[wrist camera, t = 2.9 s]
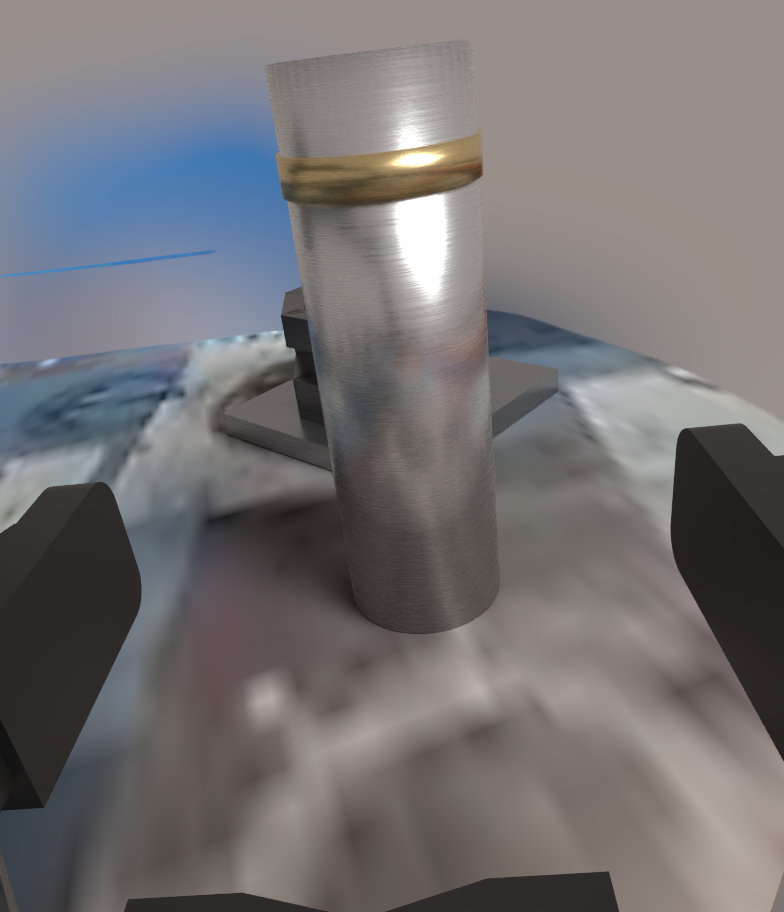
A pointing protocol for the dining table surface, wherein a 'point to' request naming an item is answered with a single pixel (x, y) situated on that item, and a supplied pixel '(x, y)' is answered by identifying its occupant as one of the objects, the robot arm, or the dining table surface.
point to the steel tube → (397, 318)
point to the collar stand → (300, 411)
